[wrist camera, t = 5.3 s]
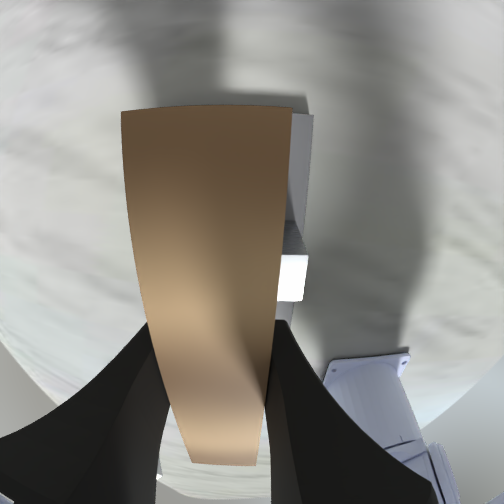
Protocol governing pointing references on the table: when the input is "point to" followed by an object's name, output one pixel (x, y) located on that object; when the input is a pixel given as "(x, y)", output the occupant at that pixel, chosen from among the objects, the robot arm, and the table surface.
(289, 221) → the stand
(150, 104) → the table surface
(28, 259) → the table surface
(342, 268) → the table surface
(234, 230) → the bar
